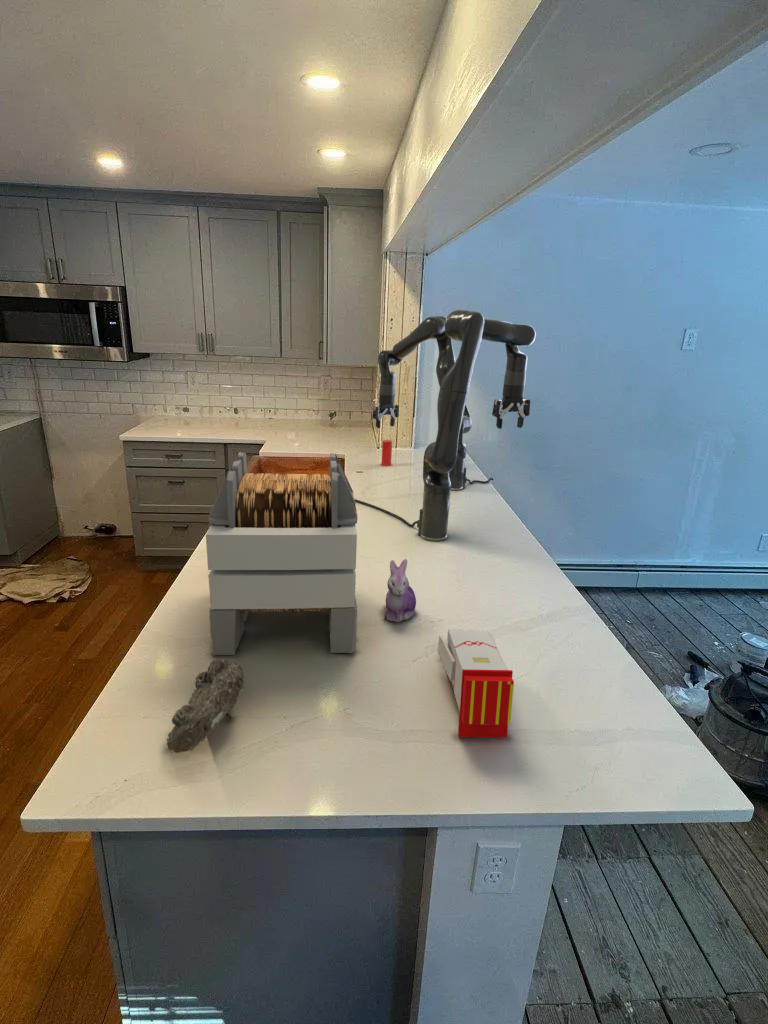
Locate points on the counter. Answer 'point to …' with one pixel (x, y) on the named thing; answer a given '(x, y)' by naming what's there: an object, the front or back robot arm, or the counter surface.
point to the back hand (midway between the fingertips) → (385, 426)
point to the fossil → (206, 705)
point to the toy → (478, 682)
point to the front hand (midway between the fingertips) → (509, 427)
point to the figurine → (399, 594)
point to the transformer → (282, 551)
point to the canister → (386, 452)
